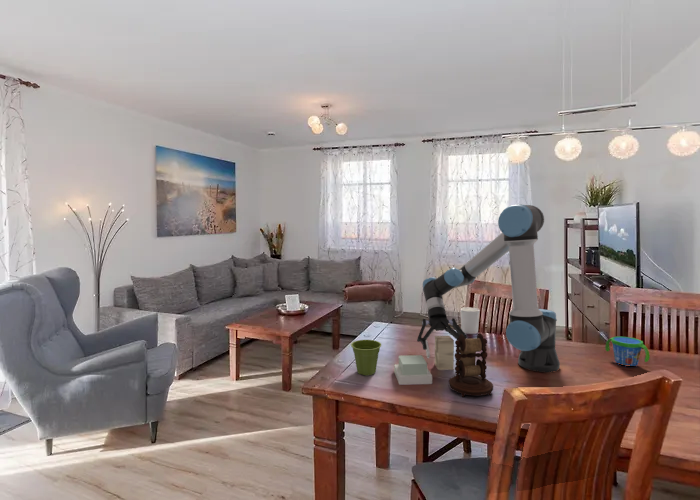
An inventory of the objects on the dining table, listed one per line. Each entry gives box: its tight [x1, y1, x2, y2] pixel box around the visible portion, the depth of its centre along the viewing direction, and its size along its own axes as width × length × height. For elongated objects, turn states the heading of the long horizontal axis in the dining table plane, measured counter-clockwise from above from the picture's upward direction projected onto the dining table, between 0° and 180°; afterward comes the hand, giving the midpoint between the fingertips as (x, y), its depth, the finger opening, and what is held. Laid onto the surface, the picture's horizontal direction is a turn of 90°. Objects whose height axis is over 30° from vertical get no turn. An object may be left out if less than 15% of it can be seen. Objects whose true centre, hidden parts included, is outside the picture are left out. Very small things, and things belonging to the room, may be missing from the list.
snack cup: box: [604, 336, 650, 367], centre depth 159 cm, size 16×10×10 cm
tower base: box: [393, 354, 433, 386], centre depth 148 cm, size 12×12×7 cm
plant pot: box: [350, 339, 382, 376], centre depth 154 cm, size 12×12×11 cm
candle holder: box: [460, 306, 481, 335], centre depth 207 cm, size 10×10×12 cm
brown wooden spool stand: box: [448, 332, 494, 398], centre depth 137 cm, size 15×15×20 cm
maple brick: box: [434, 335, 455, 371], centre depth 158 cm, size 6×6×12 cm
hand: (445, 356), depth 156 cm, fingers open, 13 cm apart
